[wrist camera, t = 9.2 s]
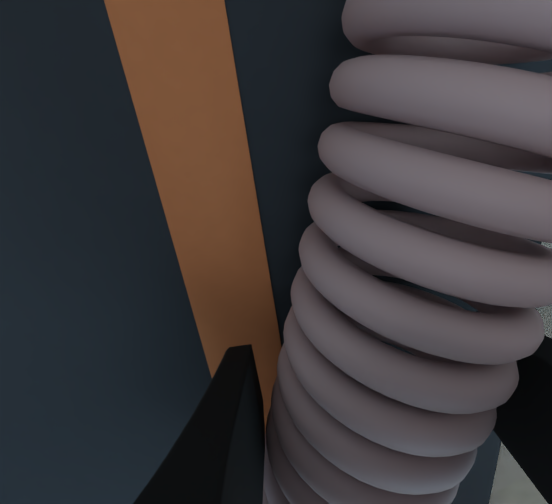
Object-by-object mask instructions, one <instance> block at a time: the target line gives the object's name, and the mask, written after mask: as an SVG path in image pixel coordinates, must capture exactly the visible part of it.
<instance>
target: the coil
mask: <svg viewBox="0 0 552 504" xmlns="http://www.w3.org/2000/svg"><path fill="white" fill-rule="evenodd" d="M341 19H342V26H343V32H344V34H345V36H346V37H347V38H348V40H349V41H350V42H351V44H352V45H353V46H355V47H356V48H358V49H360V50H362V51H365V52H368V53H371V54H375V55H366V56H360V57H356V58H352V59H349V60H346V61H343V62H342V63H341V64H340V65H339V66H338V67H337V68H336V69H335V70H334V71H333V74H332V77H331V80H330V83H329V89H330V95H331V98H332V99H333V101H334V102H335V103H336V104H337V106H338V107H341V108H344V109H347V110H350V111H354V112H358V113H362V114H366V115H371V116H375V117H380V118H384V119H389V120H393V121H398V122H402V123H407V124H411V125H405V124H390V123H375V122H353V121H352V122H341V123H336V124H332V125H330V126H329V127H328V128H327V129H326V130H325V131H323V132H322V134H321V137H320V139H319V142H318V152H319V158H320V159H321V161H322V162H323V163H324V164H325V165H326V167H327V168H328V169H329V170H330V171H331V172H332V173H329V174H326V175H324V176H323V177H321V178H320V179H319V180H318V181H316V182H315V183H314V184H313V186H312V187H311V190H310V193H309V195H308V201H307V202H308V207H309V212H310V215H311V217H312V219H313V220H314V222H313V223H312V224H311V225H310V226H308V227H307V228H306V230H305V231H304V233H303V235H302V238H301V240H300V243H299V255H300V260H301V265H302V266H301V267H300V268H299V269H298V271H297V273H296V276H295V278H294V280H293V283H292V286H291V293H290V294H291V302H292V307H291V308H290V311H289V313H288V316H287V318H286V320H285V324H284V331H283V335H284V343H283V346H282V348H281V351H280V354H279V356H278V363H277V377H276V379H275V382H274V385H273V388H272V395H271V406H270V410H269V413H268V416H267V422H266V429H265V431H266V433H265V460H264V483H263V504H451V503H452V501H453V500H454V498H455V496H456V494H457V491H458V487H459V484H460V482H461V481H462V480H463V479H464V478H465V476H466V475H467V474H468V472H469V471H470V469H471V467H472V466H473V464H474V462H475V458H476V455H477V447H479V446H480V445H482V444H483V443H484V442H485V440H486V439H487V438H488V436H489V435H490V433H491V432H492V430H493V428H494V426H495V423H496V419H497V413H496V407H498V406H500V405H502V404H504V403H506V402H507V400H508V399H509V398H510V397H511V395H512V394H513V392H514V391H515V389H516V387H517V385H518V381H519V373H518V367H517V362H516V361H517V360H520V359H522V358H525V357H527V356H530V355H532V354H533V353H534V352H535V351H536V350H537V349H538V347H539V346H540V344H541V343H542V341H543V339H544V333H545V331H544V325H543V320H542V317H541V315H540V313H539V312H538V311H537V310H536V309H535V308H539V307H544V306H548V305H551V304H552V249H550V248H547V247H545V246H543V245H541V244H538V243H535V242H533V241H530V240H535V241H540V242H547V243H552V180H549V179H545V178H541V177H537V176H533V175H529V174H525V173H521V172H517V171H524V172H534V173H544V174H552V72H545V73H536V72H531V71H526V70H520V69H515V68H510V67H505V66H498V64H514V63H526V62H535V61H544V60H551V59H552V0H346V3H345V6H344V9H343V12H342V18H341ZM513 170H514V171H513ZM365 201H393V202H397V203H400V204H403V205H406V206H408V207H411V208H414V209H417V210H420V211H423V212H427V213H430V214H433V215H436V216H432V215H426V214H419V213H412V212H403V211H392V210H376V209H374V208H372V207H370V206H368V205H366V204H364V203H362V202H365ZM438 216H439V217H438ZM524 238H525V239H524ZM527 239H530V240H527ZM337 246H341V248H338V247H337ZM373 275H379V276H389V277H395V278H400V279H404V280H406V281H409V282H412V283H414V284H417V285H419V286H422V287H425V288H428V289H431V290H434V291H437V292H440V293H444V294H447V295H450V296H454V297H456V298H458V299H460V300H462V301H463V302H465V303H467V304H469V305H470V306H472V307H473V308H475V309H476V310H478V311H479V312H474V311H469V310H465V309H463V308H462V307H460V306H458V305H456V304H454V303H452V302H450V301H448V300H446V299H443V298H441V297H438V296H436V295H433V294H431V293H428V292H425V291H422V290H419V289H416V288H412V287H409V286H405V285H401V284H396V283H392V282H386V281H382V280H380V279H378V278H376V277H374V276H373ZM339 309H340V310H339ZM381 341H383V342H386V343H390V344H392V345H395V346H397V347H400V348H402V349H404V350H406V351H408V352H410V353H412V354H414V355H412V354H409V353H406V352H403V351H401V350H399V349H396V348H394V347H392V346H390V345H387V344H385V343H383V342H381Z"/></svg>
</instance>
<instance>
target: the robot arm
mask: <svg viewBox="0 0 552 504" xmlns="http://www.w3.org/2000/svg"><path fill="white" fill-rule="evenodd" d="M476 312H479V311H476ZM516 362H517V367H518V373H519V381H518V385H517V387H516V389H515V391H514V392H513V394H512V395H511V397H510V398H509V399H508V400H507V402H506V403H504V404H502V405H500V406H498V407H496V413H497V419H496V423H495V426H494V428H493V431H494V432H495V433H496V435H497V436H498V437H499V439H500V440H501V441H502V443H503V444H504V445H505V447H506V448H507V449H508V451H509V452H510V453H511V455H512V456H513V457H514V459H515V460H516V461H517V463H518V464H519V465H520V467H521V468H522V469H523V471H524V472H525V473H526V475H527V476H528V477H529V479H530V480H531V481H532V483H533V484H534V485H535V487H536V488H537V489H538V491H539V492H540V493H541V495H542V496H543V497H544V499H545V500H546V501H547V503H548V504H552V339H551V338H549V337H547V336H545V335H544V339H543V341H542V343H541V344H540V346H539V347H538V349H537V350H536V351H535V352H534V353H533V354H532V355H530V356H527V357H525V358H522V359H520V360H517V361H516ZM264 460H265V423H264V405H263V397H262V392H261V387H260V383H259V378H258V373H257V368H256V363H255V359H254V354H253V349H252V344H248V345H241V346H234V347H229V348H228V349H227V350H226V352H225V354H224V356H223V358H222V360H221V362H220V364H219V366H218V368H217V370H216V372H215V374H214V376H213V378H212V380H211V382H210V384H209V386H208V388H207V390H206V391H205V393H204V395H203V397H202V398H201V400H200V402H199V404H198V405H197V407H196V409H195V411H194V412H193V414H192V416H191V418H190V419H189V421H188V423H187V424H186V426H185V427H184V429H183V431H182V432H181V434H180V435H179V437H178V438H177V440H176V442H175V443H174V445H173V446H172V448H171V449H170V451H169V453H168V454H167V456H166V457H165V459H164V460H163V462H162V463H161V465H160V466H159V468H158V469H157V470H156V472H155V473H154V475H153V476H152V478H151V479H150V480H149V482H148V483H147V485H146V486H145V487H144V489H143V490H142V492H141V493H140V494H139V496H138V497H137V498H136V500H135V501H134V502H133V504H263V483H264Z"/></svg>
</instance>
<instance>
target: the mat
mask: <svg viewBox="0 0 552 504" xmlns="http://www.w3.org/2000/svg"><path fill="white" fill-rule="evenodd" d="M345 3H346V0H0V504H133V502H134V501H135V500H136V498H137V497H138V496H139V494H140V493H141V492H142V490H143V489H144V487H145V486H146V485H147V483H148V482H149V480H150V479H151V478H152V476H153V475H154V473H155V472H156V470H157V469H158V468H159V466H160V465H161V463H162V462H163V460H164V459H165V457H166V456H167V454H168V453H169V451H170V449H171V448H172V446H173V445H174V443H175V442H176V440H177V438H178V437H179V435H180V434H181V432H182V431H183V429H184V427H185V426H186V424H187V423H188V421H189V419H190V418H191V416H192V414H193V412H194V411H195V409H196V407H197V405H198V404H199V402H200V400H201V398H202V397H203V395H204V393H205V391H206V390H207V388H208V386H209V384H210V382H211V380H212V378H213V376H214V374H215V372H216V370H217V368H218V366H219V364H220V362H221V360H222V358H223V356H224V354H225V352H226V350H227V349H228V348H229V347H234V346H241V345H248V344H252V349H253V354H254V359H255V363H256V368H257V373H258V378H259V383H260V387H261V392H262V397H263V405H264V423H265V429H266V422H267V416H268V413H269V410H270V406H271V395H272V388H273V385H274V382H275V379H276V377H277V363H278V356H279V354H280V351H281V348H282V346H283V343H284V335H283V331H284V324H285V320H286V318H287V316H288V313H289V311H290V308H291V307H292V302H291V294H290V293H291V286H292V283H293V280H294V278H295V276H296V273H297V271H298V269H299V268H300V267H301V266H302V265H301V260H300V255H299V243H300V240H301V238H302V235H303V233H304V231H305V230H306V228H307V227H308V226H310V225H311V224H312V223H313V222H314V220H313V219H312V217H311V215H310V212H309V207H308V202H307V201H308V195H309V193H310V190H311V187H312V186H313V184H314V183H315V182H316V181H318V180H319V179H320V178H321V177H323V176H324V175H326V174H329V173H332V172H331V171H330V170H329V169H328V168H327V167H326V165H325V164H324V163H323V162H322V161H321V159H320V158H319V152H318V142H319V139H320V137H321V134H322V132H323V131H325V130H326V129H327V128H328V127H329V126H330V125H332V124H336V123H341V122H352V121H353V122H375V123H390V124H405V125H411V124H407V123H402V122H398V121H393V120H389V119H384V118H380V117H375V116H371V115H366V114H362V113H358V112H354V111H350V110H347V109H344V108H341V107H338V106H337V104H336V103H335V102H334V101H333V99H332V98H331V95H330V89H329V83H330V80H331V77H332V74H333V71H334V70H335V69H336V68H337V67H338V66H339V65H340V64H341V63H342V62H343V61H346V60H349V59H352V58H356V57H360V56H366V55H375V54H371V53H368V52H365V51H362V50H360V49H358V48H356V47H355V46H353V45H352V44H351V42H350V41H349V40H348V38H347V37H346V36H345V34H344V32H343V26H342V19H341V18H342V12H343V9H344V6H345ZM498 66H505V67H510V68H515V69H520V70H526V71H531V72H536V73H545V72H552V59H551V60H544V61H535V62H526V63H514V64H498ZM513 171H514V170H513ZM517 172H521V173H525V174H529V175H533V176H537V177H541V178H545V179H549V180H552V174H544V173H534V172H524V171H517ZM362 203H364V204H366V205H368V206H370V207H372V208H374V209H376V210H392V211H403V212H412V213H419V214H426V215H432V216H436V215H433V214H430V213H427V212H423V211H420V210H417V209H414V208H411V207H408V206H406V205H403V204H400V203H397V202H393V201H365V202H362ZM438 217H439V216H438ZM524 239H525V238H524ZM527 240H530V239H527ZM530 241H533V242H535V243H538V244H541V242H540V241H535V240H530ZM337 247H338V248H341V246H337ZM373 276H374V277H376V278H378V279H380V280H382V281H386V282H392V283H396V284H401V285H405V286H409V287H412V288H416V289H419V290H422V291H425V292H428V293H431V294H433V295H436V296H438V297H441V298H443V299H446V300H448V301H450V302H452V303H454V304H456V305H458V306H460V307H462V308H463V309H465V310H469V311H474V312H476V311H478V310H476V309H475V308H473V307H472V306H470V305H469V304H467V303H465V302H463V301H462V300H460V299H458V298H456V297H454V296H450V295H447V294H444V293H440V292H437V291H434V290H431V289H428V288H425V287H422V286H419V285H417V284H414V283H412V282H409V281H406V280H404V279H400V278H395V277H389V276H379V275H373ZM339 310H340V309H339ZM381 342H383V341H381ZM383 343H385V344H387V345H390V346H392V347H394V348H396V349H399V350H401V351H403V352H406V353H409V354H412V353H410V352H408V351H406V350H404V349H402V348H400V347H397V346H395V345H392V344H390V343H386V342H383ZM412 355H414V354H412ZM265 433H266V431H265ZM500 445H501V440H500V439H499V437H498V436H497V435H496V433H495V432H494V431H493V430H492V432H491V433H490V435H489V436H488V438H487V439H486V440H485V442H484V443H483V444H482V445H480V446H479V447H477V455H476V458H475V462H474V464H473V466H472V467H471V469H470V471H469V472H468V474H467V475H466V476H465V478H464V479H463V480H462V481H461V482H460V484H459V487H458V491H457V494H456V496H455V498H454V500H453V501H452V503H451V504H489V500H490V495H491V490H492V485H493V480H494V475H495V470H496V465H497V460H498V455H499V450H500Z"/></svg>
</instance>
